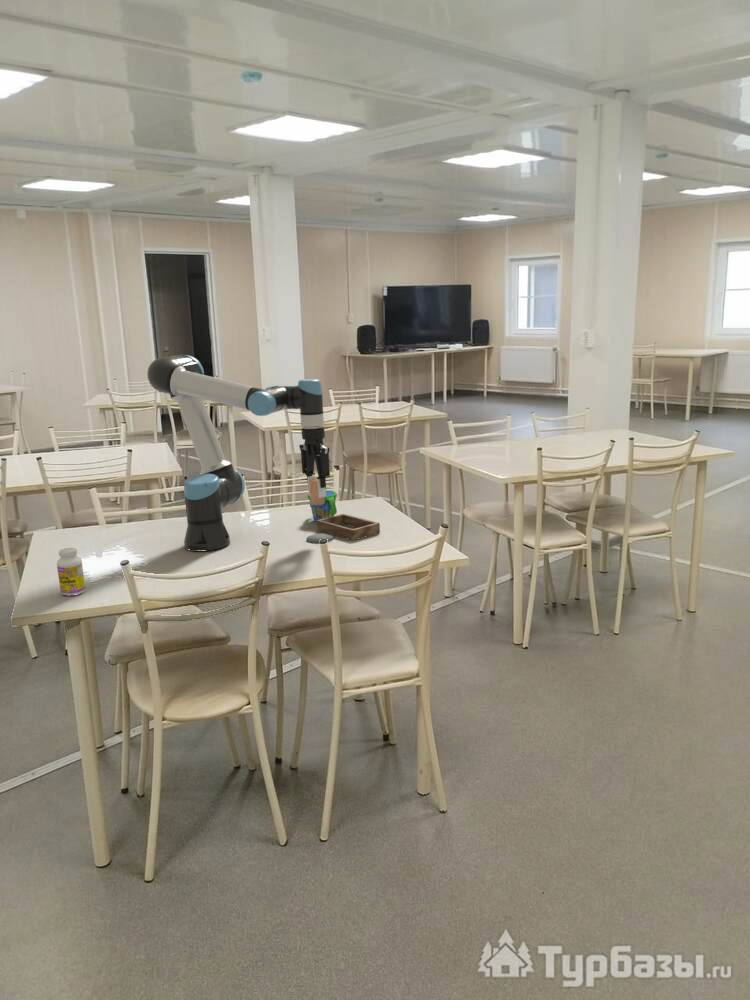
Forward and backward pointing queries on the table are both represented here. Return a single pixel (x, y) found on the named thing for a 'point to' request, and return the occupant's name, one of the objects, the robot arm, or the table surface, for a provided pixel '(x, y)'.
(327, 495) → the snack cup
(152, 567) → the table surface
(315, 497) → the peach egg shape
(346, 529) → the tray
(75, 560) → the supplement bottle
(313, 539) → the slate coaster
